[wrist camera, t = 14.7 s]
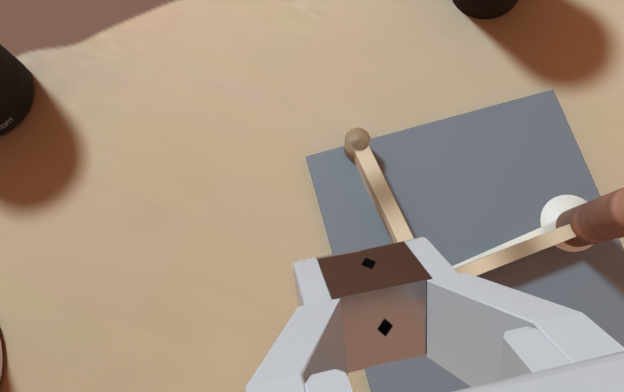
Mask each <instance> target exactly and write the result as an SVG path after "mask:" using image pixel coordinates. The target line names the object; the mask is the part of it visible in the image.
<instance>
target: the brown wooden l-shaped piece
mask: <svg viewBox="0 0 624 392" xmlns="http://www.w3.org/2000/svg"><path fill="white" fill-rule="evenodd" d="M622 237H624V188H621V189H619V190H616V191H614V192H611V193H609V194H606V195H604V196H601V197H599V198H596V199H594V200H591V201H589V202H586V203H584V204H581V205H579V206H576V207H574V208H571V209H569V210H567V211H564V212H563V213H561V214H560V215H559V216H558V218H557V220H556V229H554V230H551V231H549V232H546V233H543V234H541V235H538V236H536V237H533V238H531V239H528V240H526V241H523V242H521V243H518V244H515V245H513V246H510V247H508V248H505V249H503V250H500V251H498V252H495V253H492V254H490V255H487V256H485V257H482V258H480V259H477V260H475V261H472V262H470V263H467V264H464V265H462V266H459V267H457V268H454V269H455V270H456V271H457V272H458V273H459V274H461V273H468V274H471V275H474V276H477V275H480V274H482V273H485V272H487V271H490V270H492V269H495V268H498V267H500V266H503V265H505V264H508V263H510V262H513V261H515V260H518V259H520V258H523V257H525V256H528V255H531V254H533V253H536V252H538V251H541V250H543V249H546V248H548V247H551V246H553V245H556V244H559V243H561V242H564V243H566V244H568V245H570V246H573V247H583V246H587V245H591V244H596V243H600V242H604V241H609V240H613V239H617V238H622Z"/></svg>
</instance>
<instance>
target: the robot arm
mask: <svg viewBox="0 0 624 392" xmlns="http://www.w3.org/2000/svg"><path fill="white" fill-rule="evenodd" d="M293 272H294V279H295V287H296V294H297V301H298V307H297V309H296V310H295V312H294V314H293V315H292V317H291V318H290V320H289V321H288V323H287V324H286V326H285V327H284V329H283V330H282V332H281V334H280V335H279V337H278V338H277V340H276V341H275V343H274V344H273V346H272V347H271V349H270V351H269V352H268V354H267V355H266V357H265V358H264V360H263V361H262V363H261V364H260V366H259V367H258V369H257V371H256V372H255V374H254V375H253V377H252V378H251V380H250V381H249V383H248V384H247V386H246V392H353V391H352V388H351V385H350V383H349V380H348V373H349V372H353V371H357V370H361V369H365V368H369V367H373V366H376V365H380V364H384V363H389V362H394V361H399V360H404V359H409V358H414V357H419V356H424V355H427V357H428V358H429V359H431V360H432V361H434V362H435V363H437V364H438V365H440V366H441V367H443V368H444V369H446V370H447V371H449V372H450V373H451V374H453V375H454V376H456V377H457V378H459V379H460V380H462V381H463V382H465V383H466V384H468V385H469V386H471V387H470V388H466V389H462V390H457V391H453V392H624V347H623V346H622V345H620V344H619V343H618V342H617V341H616V340H614V339H613V338H612V337H611V336H610V335H608V334H607V333H606V332H605V331H604V330H603V329H601V328H600V327H599V326H598V325H597V324H595V323H594V322H593V321H592V320H591V319H590V318H588V317H587V316H586V315H585V314H584V313H582V312H579V311H576V310H573V309H571V308H568V307H565V306H562V305H559V304H556V303H553V302H550V301H547V300H544V299H541V298H538V297H536V296H533V295H530V294H527V293H524V292H521V291H518V290H515V289H512V288H509V287H506V286H503V285H500V284H498V283H495V282H492V281H489V280H486V279H483V278H480V277H477V276H474V275H471V274H468V273H461V274H459V273H458V272H457V271H456V270H455V269H454V268H453V267H452V266H451V265H450V263H449V262H448V261H447V260H446V259H445V258H444V257H443V256H442V255H441V254H440V253H439V251H438V250H437V249H436V248H435V247H434V246H433V245H432V244H431V243H430V242H429V240H428V239H427V238H425V237H419V238H415V239H411V240H406V241H402V242H398V243H393V244H388V245H384V246H379V247H374V248H370V249H365V250H361V251H360V250H357V251H351V252H345V253H340V254H334V255H328V256H322V257H316V258H315V257H314V258H309V259H304V260H300V261H295V262H293ZM1 373H2V346H1V340H0V379H1Z"/></svg>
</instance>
